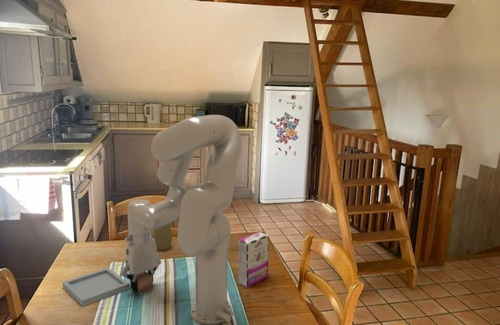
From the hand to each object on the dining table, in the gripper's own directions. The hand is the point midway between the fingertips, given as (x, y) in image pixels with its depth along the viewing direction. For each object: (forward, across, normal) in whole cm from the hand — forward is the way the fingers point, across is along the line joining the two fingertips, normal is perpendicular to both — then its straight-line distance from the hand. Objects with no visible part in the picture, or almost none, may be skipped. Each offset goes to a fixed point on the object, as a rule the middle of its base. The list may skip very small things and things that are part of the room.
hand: (142, 287), depth 134 cm
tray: (+1, -11, +11) cm, 16 cm away
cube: (+1, 0, 0) cm, 1 cm away
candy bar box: (+1, +32, -21) cm, 38 cm away
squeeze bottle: (+1, +24, +25) cm, 35 cm away
